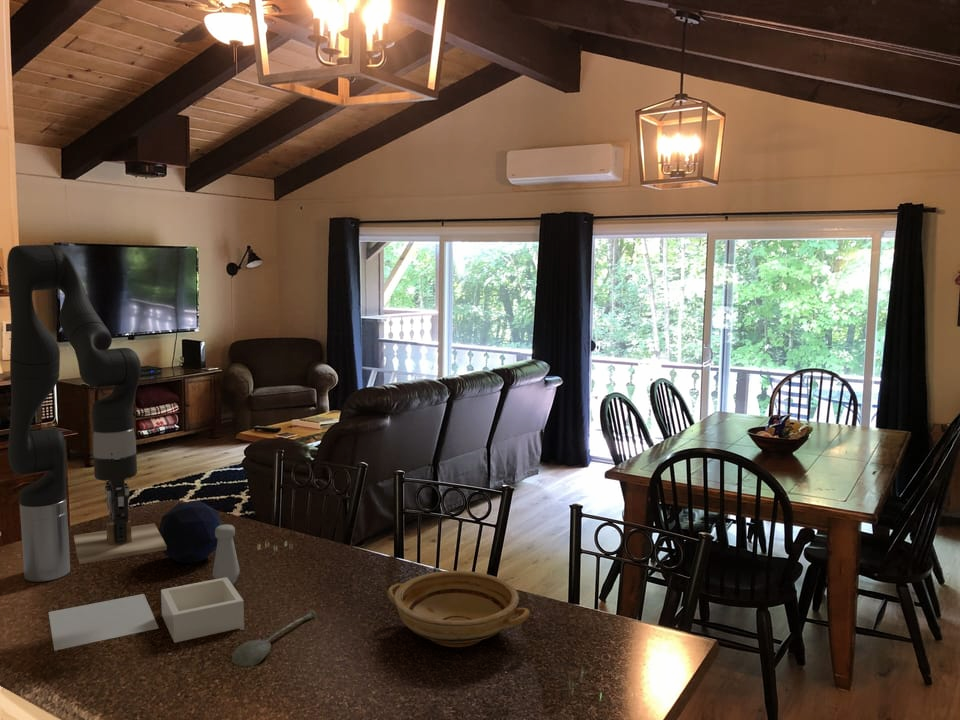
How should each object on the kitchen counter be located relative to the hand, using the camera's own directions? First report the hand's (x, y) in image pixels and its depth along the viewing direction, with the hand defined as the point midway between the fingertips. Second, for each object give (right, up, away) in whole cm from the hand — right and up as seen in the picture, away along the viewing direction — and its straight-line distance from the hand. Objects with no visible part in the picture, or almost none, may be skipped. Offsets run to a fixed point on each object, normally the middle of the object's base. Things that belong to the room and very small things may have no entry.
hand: (119, 538), depth 156 cm
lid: (0, -1, 0) cm, 1 cm away
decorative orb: (+1, -13, +35) cm, 38 cm away
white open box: (+15, -18, +3) cm, 23 cm away
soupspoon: (+32, -19, -3) cm, 37 cm away
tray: (-5, -17, +3) cm, 18 cm away
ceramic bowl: (+66, -19, +1) cm, 68 cm away
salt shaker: (+14, -15, +23) cm, 31 cm away
